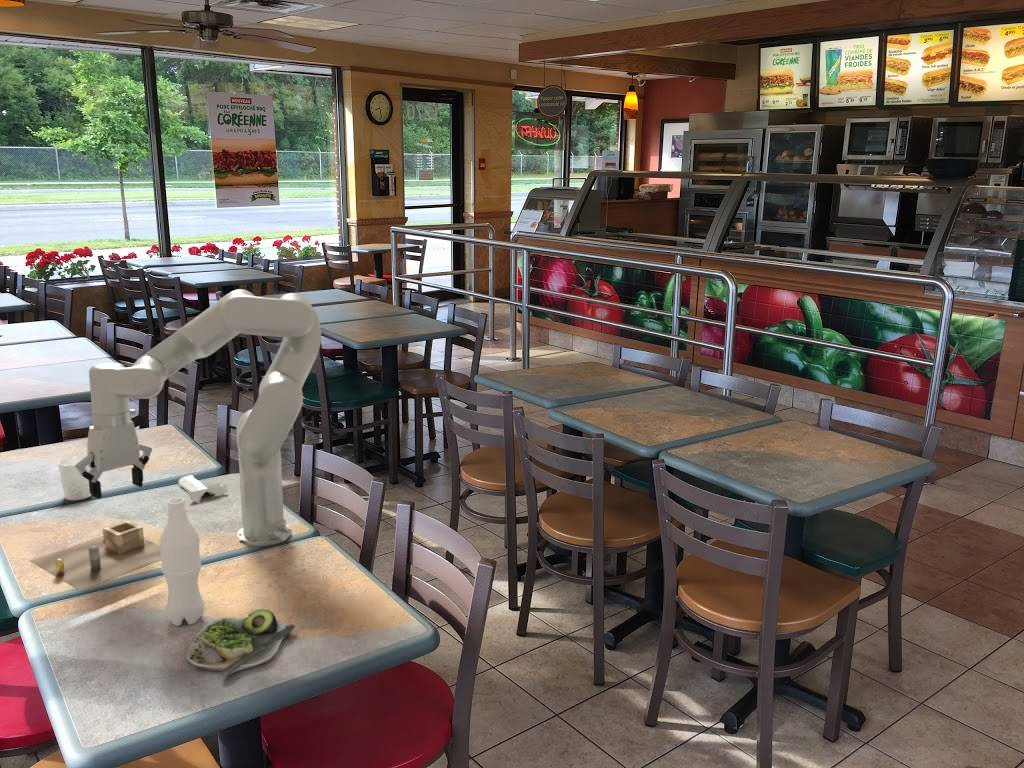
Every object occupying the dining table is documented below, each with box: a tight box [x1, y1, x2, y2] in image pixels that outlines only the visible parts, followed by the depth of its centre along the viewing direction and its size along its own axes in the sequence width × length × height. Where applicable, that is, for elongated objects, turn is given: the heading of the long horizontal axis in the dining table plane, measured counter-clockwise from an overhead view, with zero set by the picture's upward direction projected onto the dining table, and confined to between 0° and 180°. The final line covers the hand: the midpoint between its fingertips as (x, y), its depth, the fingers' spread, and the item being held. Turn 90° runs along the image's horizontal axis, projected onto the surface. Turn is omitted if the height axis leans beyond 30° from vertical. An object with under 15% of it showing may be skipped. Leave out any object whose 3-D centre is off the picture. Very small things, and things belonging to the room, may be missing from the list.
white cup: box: [57, 455, 93, 501], centre depth 224 cm, size 8×8×10 cm
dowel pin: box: [55, 558, 65, 577], centre depth 179 cm, size 2×2×4 cm
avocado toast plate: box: [185, 608, 296, 676], centre depth 154 cm, size 19×18×5 cm
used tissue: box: [177, 474, 229, 504], centre depth 230 cm, size 11×18×4 cm, turn 30°
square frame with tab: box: [102, 520, 145, 554], centre depth 194 cm, size 10×6×4 cm, turn 53°
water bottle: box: [158, 497, 205, 627], centre depth 162 cm, size 7×7×25 cm
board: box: [29, 535, 161, 592], centre depth 187 cm, size 22×22×6 cm
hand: (117, 491), depth 190 cm, fingers open, 9 cm apart
